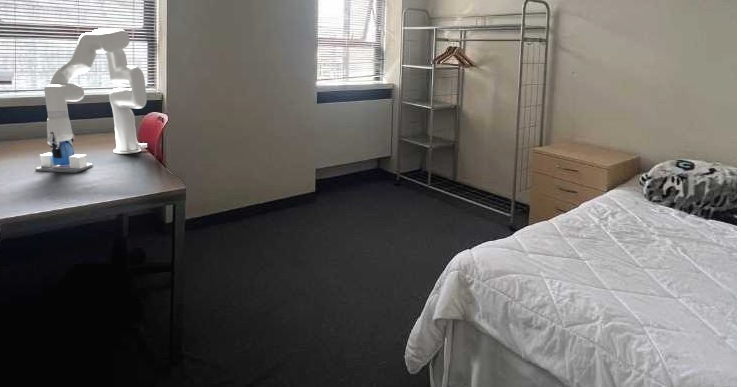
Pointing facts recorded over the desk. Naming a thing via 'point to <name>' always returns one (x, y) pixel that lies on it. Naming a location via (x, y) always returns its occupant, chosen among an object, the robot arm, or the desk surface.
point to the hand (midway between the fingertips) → (63, 155)
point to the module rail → (75, 165)
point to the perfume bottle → (64, 154)
